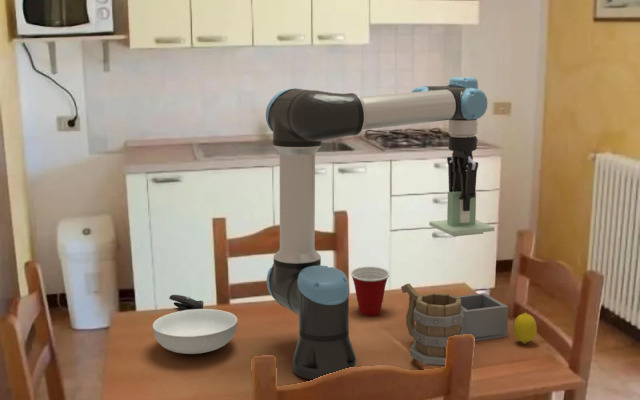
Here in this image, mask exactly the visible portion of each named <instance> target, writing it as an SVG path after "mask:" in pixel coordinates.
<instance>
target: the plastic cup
mask: <svg viewBox="0 0 640 400" xmlns="http://www.w3.org/2000/svg"><path fill="white" fill-rule="evenodd" d="M350 276H351V277H352V282H353V285H354V289H355V295H356V302H357V305H358V310H359V311H358V312H359V314H360V315H361V316H363V317H364V316H365V317H374V316H378V315H380V314H381V312H382V306H383V305H382V304H383V302H384V295H385V289H386V285H387V281H388V278H389V277H390V271H389V270H387V269H385V268H382V267H378V266H360V267H357V268H354V269H352V270H351V271H350Z"/></svg>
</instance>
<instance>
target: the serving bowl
mask: <svg viewBox="0 0 640 400" xmlns="http://www.w3.org/2000/svg"><path fill="white" fill-rule="evenodd" d="M238 321H239V320H238V317H237V316H236V315H235V314H234V313H232V312H230V311H225V310H220V309H213V308H203V309H193V310H184V311H182V310H179V311H175V312H171V313H168V314H165V315H161V316H160V317H159V318H157V319H155V320H154V321H153V323H152V331H153V335H154V338H155V339H156V341H157V342H158V344H159V345H160V346H161V347H163V348H165V350H168V351H170V352H173V353H178V354H185V355H198V354H203V353H209V352H213V351H215V350H218V349H221V348H222V347H224V346H226V345H227V344H228V343H230V341H232V339H233V337H234V336H235V334H236V331H237V328H238Z"/></svg>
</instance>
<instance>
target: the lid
mask: <svg viewBox="0 0 640 400" xmlns="http://www.w3.org/2000/svg"><path fill="white" fill-rule="evenodd" d="M459 197H462V196H461V191H457V192H449V191H448V192H447V208H446V209H447V214H446V215H447V216H446V217H447V218H446V220H435V221H434V220H433V221H429V222H428V223H429V224H428V225H429V226H430V227H432V228H434V229H436V230H439V231H441V232H443V233H446V234H447V235H450V236H452V237H462V236H472V235H481V234H482V235H483V234H484V233H488V232H495V227H494V226H493V225H490V224H488V223H487V224H486V223H485V222H482V221H480V220H477V219H476V218H477V217H476V212H477V210H476V209H477V192H476V191H475V197H474V198H471V199H470V222H466V223H459V215H460V199H459Z"/></svg>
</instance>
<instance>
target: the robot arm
mask: <svg viewBox="0 0 640 400" xmlns="http://www.w3.org/2000/svg"><path fill="white" fill-rule="evenodd" d="M487 110H488V97H487V95H486V93H485V92H484V91H483V90H482V89H479V82H478V79H477V78H475V77H472V76H471V77H467V76H466V77H464V76H462V77H451V78H449V83H448V85H440V86H439V85H435V86H434V85H430V86H429V85H424V86H417V87H415V88H413V90H412V91H411V92H402V93H401V92H400V93H390V94H379V95H377V94H376V95H367V96H359V94H357V93H354V92H352V93H351V92H350V93H341V92H340V93H339V92H338V93H337V92H331V91H330V92H328V91H323V90H314V89H311V90H310V89H302V88H288V89H283V90H281V91H279V92H277V93H276V94H275V95H273V97H272V98H271V99H270V100H269V102H268V104H267V106H266V110H265V120H266V124H267V127H268V128H269V129H270V131H271V132H272V146H273V147H274V148H275V150H276V151H277V152H278V154H279V249H278V251H277V252H276V253H274V255H273V264H272V265H271V267H270V268H269V269H268V272H267V276H266V287H267V290H268V292H269V295H270V296H271V297H272V298H273V299H274V301H276V302H277V303H278V304H279V305H280V306H282V307H284V308H285V309H286V308H287V310H290V311H291V312H293V313H294V314H295V315H297V316H298V330H299V331H298V334H299V337H298V340H297V342H296V347H295V350H294V353H293V355H292V360H291V361H292V362H291V363H292V364H291V365H292V371H293V373H294V374H295V375H297V376H299V377H302V378H304V379H309V380H312V379H315V378H318V377H320V376H323V375H326V374H329V373H333V372H336V371H339V370H342V369H345V368H349V367H355V366H356V367H357V356H356V353H355V349H354V347H353V345H352V341H351V339H350V336H349V335H350V332H349V331H350V329H349V328H350V327H349V326H350V320H349V318H350V317H349V313H350V311H349V310H350V309H349V308H350V307H349V301H350V300H349V299H350V287H349V280H348V277H347V275H346V273H345V272H343V271H342V270H340V269H339V268H336V267H333V266H330V267H328V266H327V265H322V264H321V263H322V261H321V260H322V258H321V257H322V256H321V254H319V253H318V252H317V250H316V249H315V247H316V246H315V243H316V242H315V241H316V240H315V237H316V236H315V231H316V230H315V228H316V227H315V226H316V224H315V223H316V217H315V216H316V215H315V214H316V212H315V210H316V207H315V205H316V153H317V152H318V150H319V149H321V147H322V142H323V141H329V140H333V139H339V138H344V137H345V138H346V137H350V136H357V135H358V136H359V135H360V134H361V133H362V132H363V131H365V130H372V129H381V128H390V127H398V126H407V125H408V126H409V125H417V124H425V123H432V122H433V123H434V122H441V121H443V122H444V121H448V135H449V137H448V146H447V147H448V150H449V151H452V153H451V156H447V159H446V161H447V169H448V170H447V173H448V192H457V191H461V196H462V197H459V199H460V215H459V223H466V222H470V199H471V198H474V197H475V192H476V187H477V172H478V168H479V162H478V161H474V156H473V151H476V150H477V148H478V138H477V136H476V135H477V133H478V126H479V123H478V120H479V119H481V118H482V117H483V116H484V115H485V114H486V112H487Z"/></svg>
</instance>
